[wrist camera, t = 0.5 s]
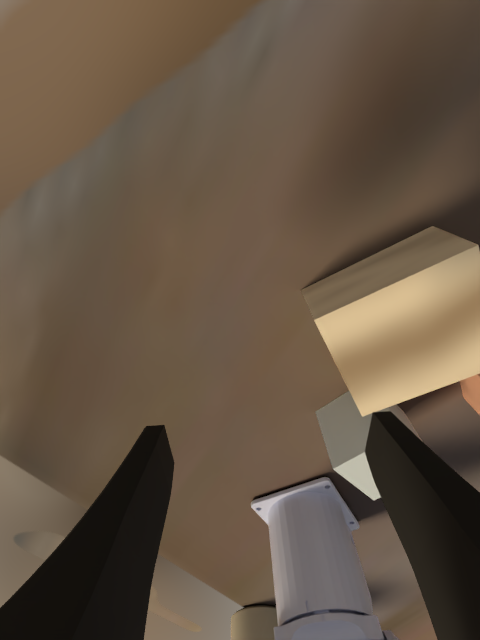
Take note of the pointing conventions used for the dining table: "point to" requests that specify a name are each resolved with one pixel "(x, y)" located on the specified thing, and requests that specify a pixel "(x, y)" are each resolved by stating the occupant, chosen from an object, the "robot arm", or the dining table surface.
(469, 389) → the terracotta cube
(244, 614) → the travel mug
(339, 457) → the off-white cube
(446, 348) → the maple block
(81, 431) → the dining table surface
